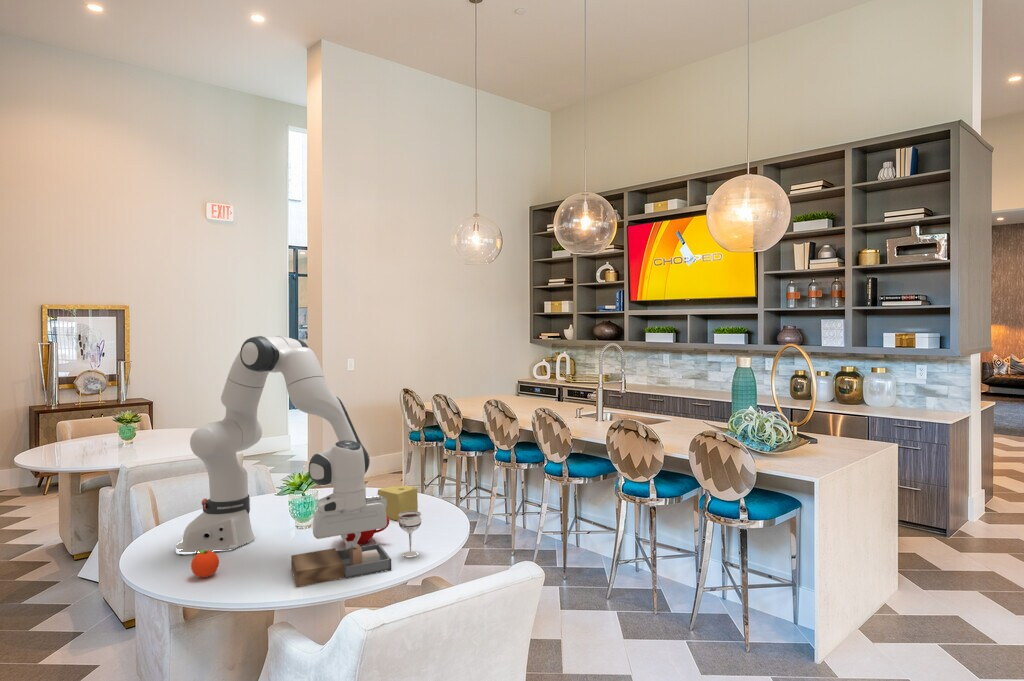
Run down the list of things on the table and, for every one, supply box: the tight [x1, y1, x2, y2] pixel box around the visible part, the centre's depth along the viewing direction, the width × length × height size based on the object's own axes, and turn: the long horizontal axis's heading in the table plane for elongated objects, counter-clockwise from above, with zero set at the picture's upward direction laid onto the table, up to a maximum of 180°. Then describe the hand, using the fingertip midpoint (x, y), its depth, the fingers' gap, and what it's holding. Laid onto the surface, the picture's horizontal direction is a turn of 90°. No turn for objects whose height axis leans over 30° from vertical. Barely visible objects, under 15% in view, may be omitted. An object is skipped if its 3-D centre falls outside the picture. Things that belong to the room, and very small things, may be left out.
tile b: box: [350, 544, 362, 566], centre depth 173 cm, size 5×5×2 cm
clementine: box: [190, 550, 220, 578], centre depth 168 cm, size 8×7×7 cm
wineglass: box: [397, 511, 422, 556], centre depth 182 cm, size 7×7×12 cm
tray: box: [336, 543, 392, 579], centre depth 174 cm, size 12×14×3 cm
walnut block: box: [290, 547, 345, 588], centre depth 168 cm, size 12×13×4 cm
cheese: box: [376, 484, 419, 522], centre depth 220 cm, size 10×11×10 cm
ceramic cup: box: [345, 516, 390, 546], centre depth 193 cm, size 13×17×10 cm
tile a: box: [362, 550, 380, 564], centre depth 175 cm, size 5×5×2 cm
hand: (351, 548), depth 172 cm, fingers closed
